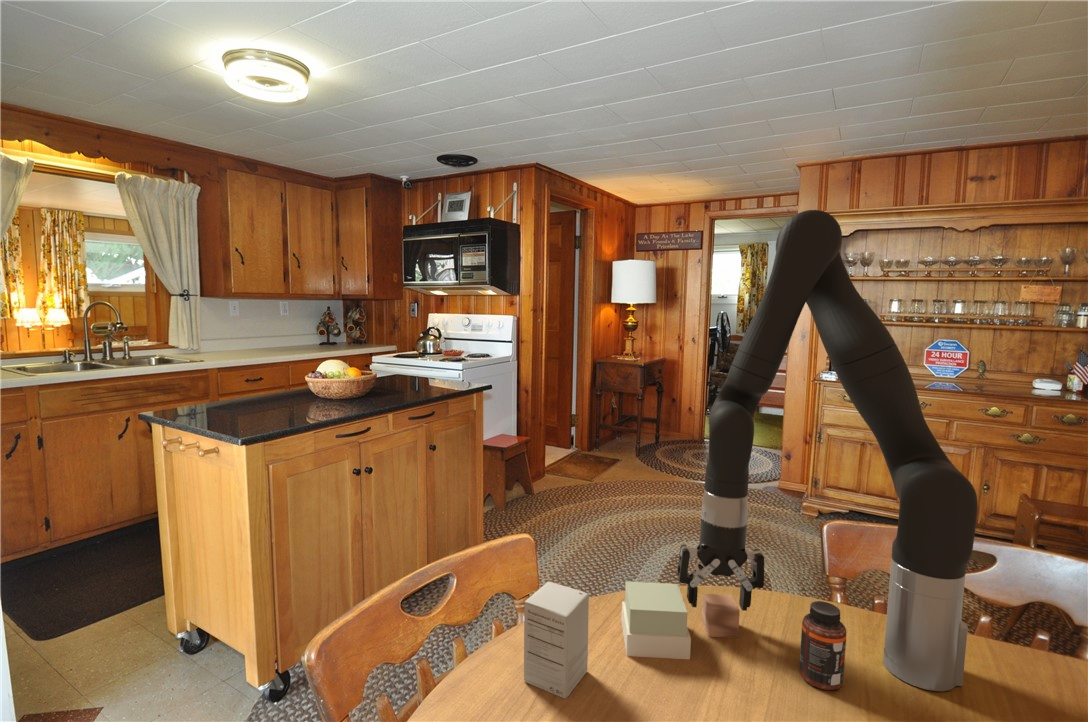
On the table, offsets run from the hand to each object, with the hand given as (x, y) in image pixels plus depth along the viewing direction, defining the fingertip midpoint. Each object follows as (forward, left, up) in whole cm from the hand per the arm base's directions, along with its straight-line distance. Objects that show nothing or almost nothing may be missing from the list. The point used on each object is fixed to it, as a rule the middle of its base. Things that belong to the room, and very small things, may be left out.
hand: (717, 606), depth 95 cm
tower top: (+12, +4, 0) cm, 12 cm away
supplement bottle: (-12, +12, -4) cm, 18 cm away
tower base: (+12, +4, -4) cm, 13 cm away
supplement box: (+28, +15, -4) cm, 32 cm away
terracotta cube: (0, 0, -4) cm, 4 cm away
